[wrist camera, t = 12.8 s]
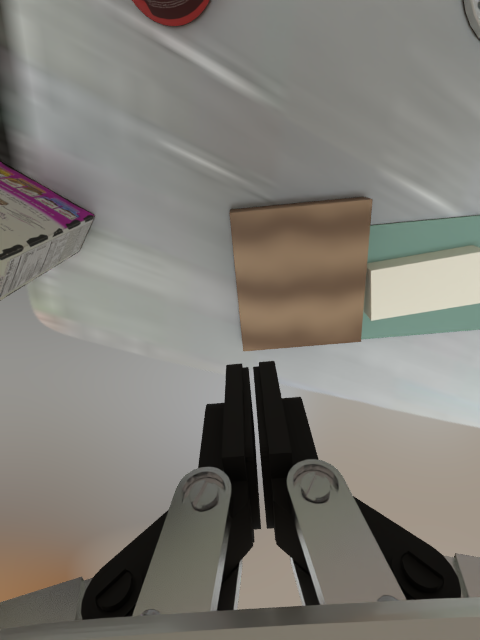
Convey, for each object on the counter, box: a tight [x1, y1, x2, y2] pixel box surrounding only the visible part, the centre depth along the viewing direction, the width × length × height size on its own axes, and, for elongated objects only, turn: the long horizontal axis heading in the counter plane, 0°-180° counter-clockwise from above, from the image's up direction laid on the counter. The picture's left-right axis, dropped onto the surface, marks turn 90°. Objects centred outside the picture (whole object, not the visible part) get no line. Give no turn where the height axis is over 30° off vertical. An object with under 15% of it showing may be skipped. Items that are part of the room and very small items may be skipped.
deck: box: [230, 197, 372, 351], centre depth 37 cm, size 16×14×2 cm
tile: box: [364, 245, 480, 321], centre depth 37 cm, size 6×12×2 cm, turn 100°
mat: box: [361, 215, 480, 339], centre depth 38 cm, size 14×16×1 cm
